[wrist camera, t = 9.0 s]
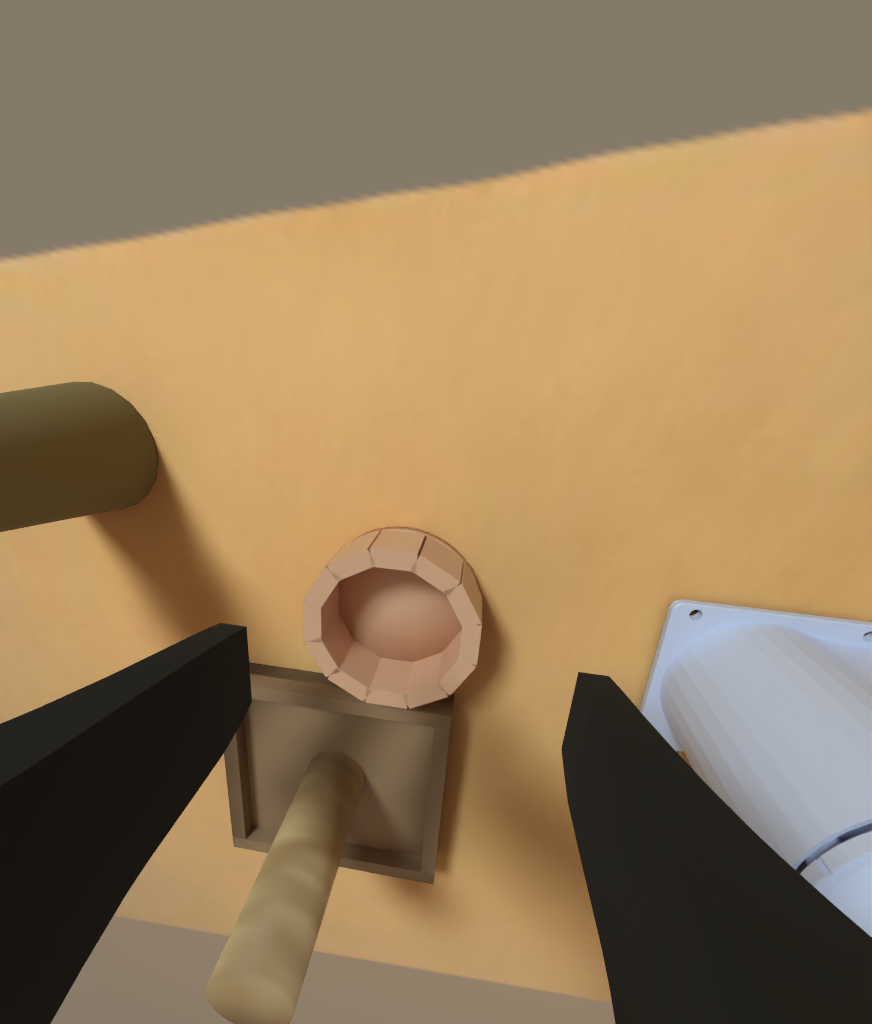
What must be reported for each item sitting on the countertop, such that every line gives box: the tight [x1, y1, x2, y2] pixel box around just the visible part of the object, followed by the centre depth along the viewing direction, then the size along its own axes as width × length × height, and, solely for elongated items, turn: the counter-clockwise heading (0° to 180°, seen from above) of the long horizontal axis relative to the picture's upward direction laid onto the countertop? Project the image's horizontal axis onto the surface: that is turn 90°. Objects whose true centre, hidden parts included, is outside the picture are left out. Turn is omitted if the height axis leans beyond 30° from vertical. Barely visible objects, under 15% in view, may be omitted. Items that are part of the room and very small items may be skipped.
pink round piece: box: [303, 527, 483, 709], centre depth 19 cm, size 8×8×3 cm
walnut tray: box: [224, 663, 454, 884], centre depth 23 cm, size 12×12×2 cm
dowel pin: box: [206, 751, 365, 1024], centre depth 19 cm, size 3×3×9 cm
